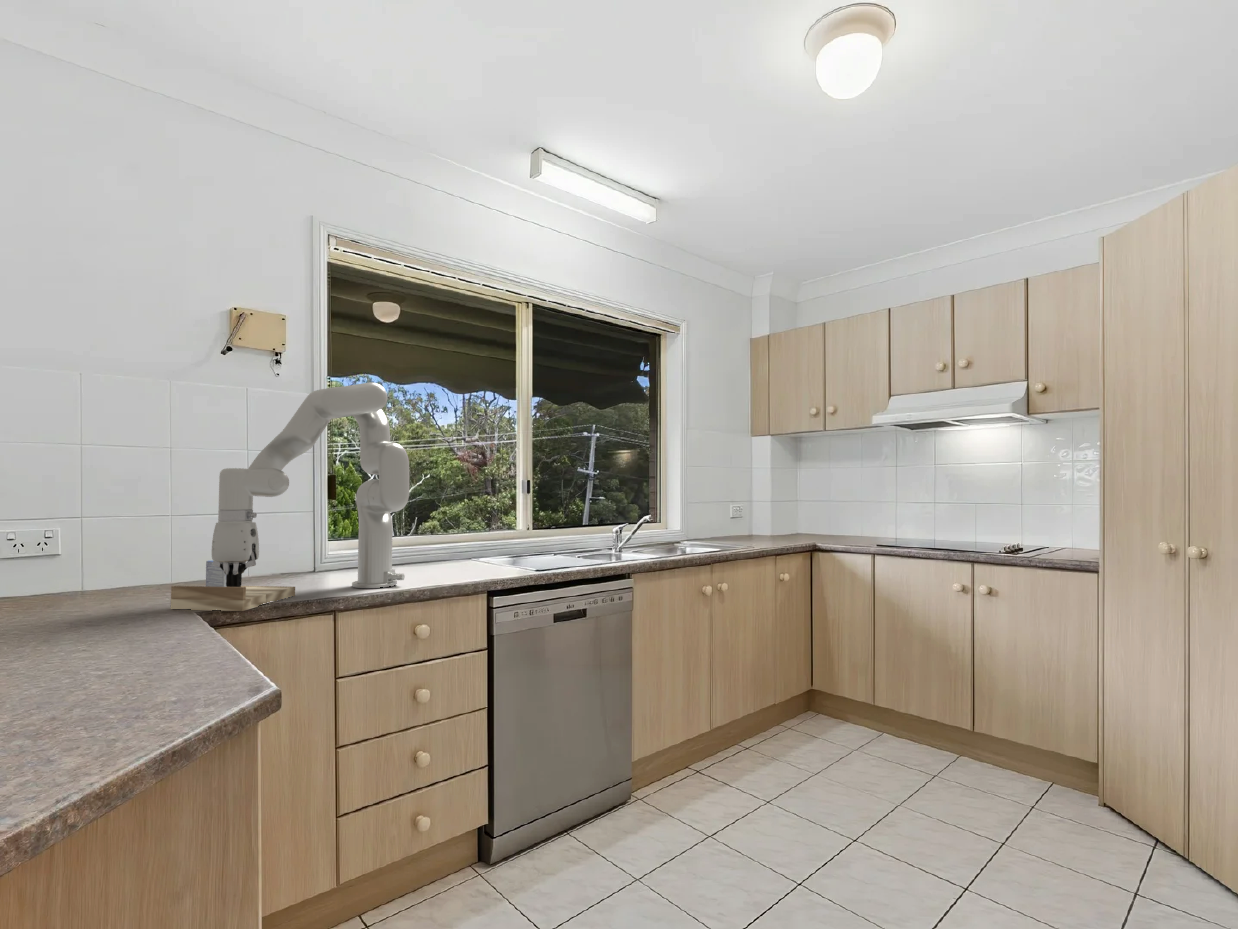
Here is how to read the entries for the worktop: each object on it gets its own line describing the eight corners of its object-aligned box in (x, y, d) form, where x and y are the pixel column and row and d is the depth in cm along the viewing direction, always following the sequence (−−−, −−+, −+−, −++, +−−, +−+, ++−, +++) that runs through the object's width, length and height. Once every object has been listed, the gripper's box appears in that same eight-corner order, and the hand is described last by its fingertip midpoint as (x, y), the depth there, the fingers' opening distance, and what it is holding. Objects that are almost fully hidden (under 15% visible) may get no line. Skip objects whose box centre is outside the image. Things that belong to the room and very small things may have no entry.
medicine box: (238, 591, 187) (239, 560, 187) (223, 593, 183) (224, 561, 183) (220, 589, 190) (221, 558, 191) (204, 591, 186) (205, 560, 187)
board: (231, 594, 180) (231, 574, 180) (295, 596, 179) (295, 575, 179) (170, 609, 158) (171, 586, 158) (242, 611, 157) (243, 587, 157)
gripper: (272, 516, 171) (270, 588, 171) (217, 516, 172) (215, 587, 172) (254, 517, 164) (252, 592, 163) (197, 517, 165) (194, 591, 164)
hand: (233, 589), depth 167 cm, fingers closed
